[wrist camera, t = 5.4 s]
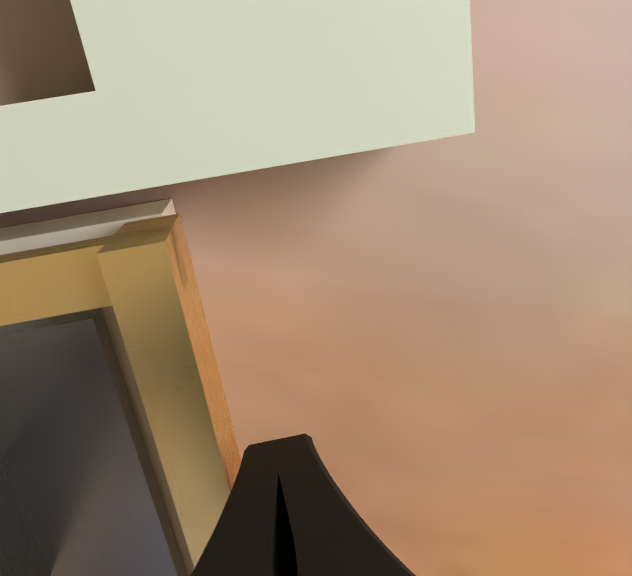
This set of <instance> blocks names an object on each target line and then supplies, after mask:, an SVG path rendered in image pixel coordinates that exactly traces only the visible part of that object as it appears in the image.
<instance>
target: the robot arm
mask: <svg viewBox="0 0 632 576" xmlns="http://www.w3.org/2000/svg"><path fill="white" fill-rule="evenodd" d="M190 576H416V575H414V574H413V573H412V572H411V571H410V570H409V569H408V568H407V567H406V566H405V565H404V564H403V563H402V562H401V561H400V560H399V559H398V558H397V557H396V556H395V555H394V554H393V553H392V552H391V551H390V550H389V549H388V548H387V547H386V546H385V544H384V543H383V542H382V541H381V540H380V539H379V538H378V537H377V536H376V535H375V533H374V532H373V531H372V530H371V529H370V528H369V526H368V525H367V524H366V523H365V522H364V520H363V519H362V518H361V517H360V516H359V514H358V513H357V512H356V511H355V509H354V508H353V507H352V505H351V504H350V503H349V501H348V500H347V499H346V497H345V496H344V494H343V493H342V492H341V490H340V489H339V487H338V486H337V485H336V483H335V482H334V480H333V479H332V477H331V476H330V474H329V473H328V471H327V469H326V468H325V466H324V464H323V463H322V461H321V459H320V457H319V455H318V453H317V451H316V449H315V446H314V444H313V441H312V438H311V437H310V436H308V435H307V434H301V435H296V436H291V437H286V438H281V439H277V440H272V441H267V442H262V443H257V444H252V445H249V446H248V447H247V448H246V450H245V451H244V455H243V458H242V462H241V465H240V468H239V471H238V474H237V476H236V479H235V482H234V484H233V487H232V490H231V492H230V495H229V497H228V500H227V502H226V504H225V506H224V509H223V511H222V513H221V516H220V518H219V520H218V523H217V525H216V527H215V529H214V531H213V533H212V535H211V537H210V539H209V541H208V543H207V545H206V547H205V549H204V551H203V553H202V555H201V557H200V559H199V561H198V563H197V565H196V566H195V568H194V570H193V572H192V574H191V575H190Z"/></svg>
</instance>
